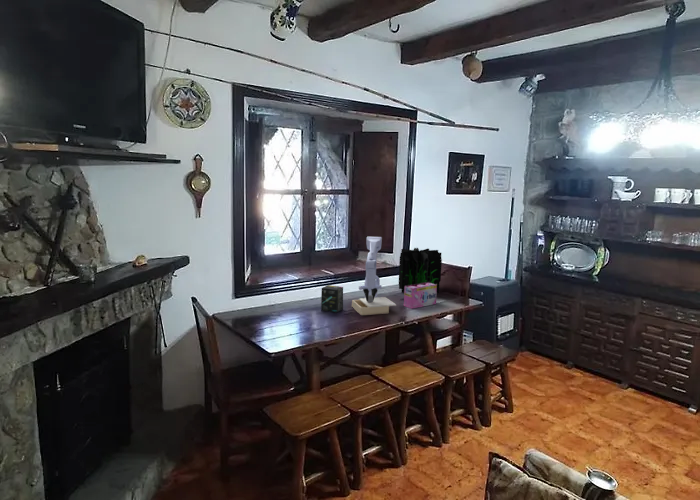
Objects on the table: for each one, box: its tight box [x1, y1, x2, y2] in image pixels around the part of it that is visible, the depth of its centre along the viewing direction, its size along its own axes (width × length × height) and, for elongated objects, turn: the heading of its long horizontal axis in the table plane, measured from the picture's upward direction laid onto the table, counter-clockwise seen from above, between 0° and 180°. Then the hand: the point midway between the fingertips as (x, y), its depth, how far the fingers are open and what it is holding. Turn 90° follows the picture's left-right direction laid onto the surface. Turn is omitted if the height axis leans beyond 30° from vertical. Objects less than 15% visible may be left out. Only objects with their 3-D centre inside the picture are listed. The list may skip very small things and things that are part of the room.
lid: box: [358, 295, 397, 307], centre depth 293 cm, size 18×18×5 cm
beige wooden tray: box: [351, 299, 390, 316], centre depth 293 cm, size 18×18×4 cm
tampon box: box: [320, 284, 344, 314], centre depth 290 cm, size 11×9×15 cm
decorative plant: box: [398, 247, 443, 294], centre depth 343 cm, size 29×30×30 cm
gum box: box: [403, 282, 438, 309], centre depth 307 cm, size 24×8×14 cm, turn 126°
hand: (369, 300), depth 292 cm, fingers closed on lid, 3 cm apart
